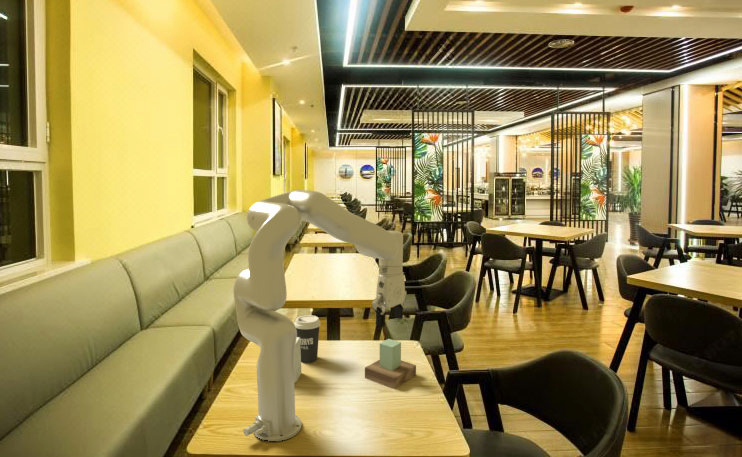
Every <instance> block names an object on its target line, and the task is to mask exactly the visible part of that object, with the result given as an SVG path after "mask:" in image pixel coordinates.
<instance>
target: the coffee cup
mask: <svg viewBox="0 0 742 457" xmlns="http://www.w3.org/2000/svg"><path fill="white" fill-rule="evenodd" d="M293 323H294V325H295V327H296V330H297V337H300V348H301V364H303V363H304V364H310V363H315V362H316V361H317V360H318V352H319V351H318V350H319V338H320V326H321V325H322V323H321V320H320V319H319V317H318V315H317V316H316V315H312V314H309V315H308V314H305V315H300V316H298V317H296V318H295V320H294V322H293Z"/></svg>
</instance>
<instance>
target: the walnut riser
mask: <svg viewBox="0 0 742 457" xmlns="http://www.w3.org/2000/svg"><path fill="white" fill-rule="evenodd" d="M416 376H417V364H412V363H411V362H408V361H404V360H401V366H399V367H398V368H396V369H394V370H393V371H391V370H388V369H385V368H382V367H380V359H378V360H376V361H374V362H372V363H371V364H368V365H367V366H365V367H364V379H366V380H369V381H371V382H374V383H377V384H380V385H383V386H386V387H388V388H391V389H393V390H396V388H397V389H398V387H400V386H401V385H403V384H405V383H406V382H407V381H409V380H412V378H414V377H416Z"/></svg>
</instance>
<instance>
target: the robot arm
mask: <svg viewBox="0 0 742 457" xmlns="http://www.w3.org/2000/svg"><path fill="white" fill-rule="evenodd" d="M247 211H248V212H247V213H246V220H247V224H248V225H249V227H250V228H251V230H253V231H255V232H256V233H255V234H254V236H253V238H252V239H251V242H250V244H249V247H248V251H247V262H248V268H246V269H244V270H242V271H241V272H240V273H239V274H238V275H237V276H236V278H235V281H234V285H233V299H234V305H235V314H236V319H237V320H236V321H237V325H238V328H239V331H240V334H241V335H242V337H244V338H245V339H246V340H248V341H249V342H252V343H253V344H255V345H257V346H258V347H259V349H260V352H259V355H258V358H257V361H256V382H257V386H256V387H257V406H258V407H257V408H258V415H257V416H255V418H254V420H255V421H253V423H252V424H251V425H249V426H247V427H245V428H243V432H242V433H243V434H244V436H245V437H248V436H250V435H251V434H253V435H254V434H255V435H254V436H255V437H256V438H257V437H258V438H257V439H259V438H260V439H259V440H261V439H263V440H262V441H264V440H268V441H267V442H269V441H276V442H283V441H285V440H288V439H291V438H293V437H294V436H296V435H297V434H298V433H299V432H300V431H301V428H302V420H301V418H300V416H298V415H296V399H295V398H296V394H295V393H296V392H295V387H296V386H295V382H294V350H295V344H296V338H297V330H296V327H295V325H294V322H293V321H292V319H290V318H289V317H288V316H287V315H284V314H282V313H279V312H277V311H279V310H280V309H282V308H283V306H284V305H285V304H286V301H287V293H288V292H287V284H286V276H285V268H284V252H285V248H286V246H287V244H288V242H289V241H290V239H291V238H292V237H293V236H295V233H297V231H298V229H299V228H300V225H301V221H302V222H307V223H309V224H311V225H313V226H314V227H316V228H318V229H320V230H321V231H323V232H325V233H326V234H328V235H329V236H331V237H333V238H335V239H337V240H339V241H341V242H344V243H349V244H351V245H354V248H355V250H356V251H357V252H358V253H359V254H360V255H361V256H364V257H369V258H374V259H378V276H377V277H378V278H377V282H376V292H375V293H376V294H375V295H376V297H375V298H374V299H373V301H372V302H371V305H372V308H373V311H374V314H375V325H376V326H379V327H382V328H383V327H386V314H385V312H386V309H387V308H388V309H390V308H393V318H396V319H398V320H402V319H403V318H404V316H403V315H404V314H403V312H404V305H405V301H406V296H407V290H406V288H405V287H406V285H405V276H404V273H403V266H404V265H403V262H404V259H403V257H404V234H403V233H402V232H401V231H398V230H386V229H385V228H383V226H380V225H378V224H375V223H374V222H371V221H369V220H367V219H365V218H363V217H361V216H359V215H356V214H355V213H352V212H351V211H350V210H348V209H346V208H345V207H343V206H342V205H340V204H339V203H337V202H336V201H334V200H333V199H331V198H330V197H329V196H327V195H325V194H324V193H322V192H320V191H316V190H306V189H304V190H303V189H295V190H290V191H286V192H284V193H281V194H277V195H274V196H272V197H268V198H264V199H262V200H258V201H256V202H255V203H254V204H252V205H251V206H250V207H249V209H248V210H247ZM253 432H254V433H253ZM282 440H283V441H282Z"/></svg>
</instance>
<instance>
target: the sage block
mask: <svg viewBox="0 0 742 457" xmlns="http://www.w3.org/2000/svg"><path fill="white" fill-rule="evenodd" d="M379 360H380V367H382V368H385V369H388V370H391V371H393V370H394V369H396V368H398V367H399V366H401V361H402V342H401V341H398V340H394V339H391V338H387V339H385V340H384V341H382V342H379Z"/></svg>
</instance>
